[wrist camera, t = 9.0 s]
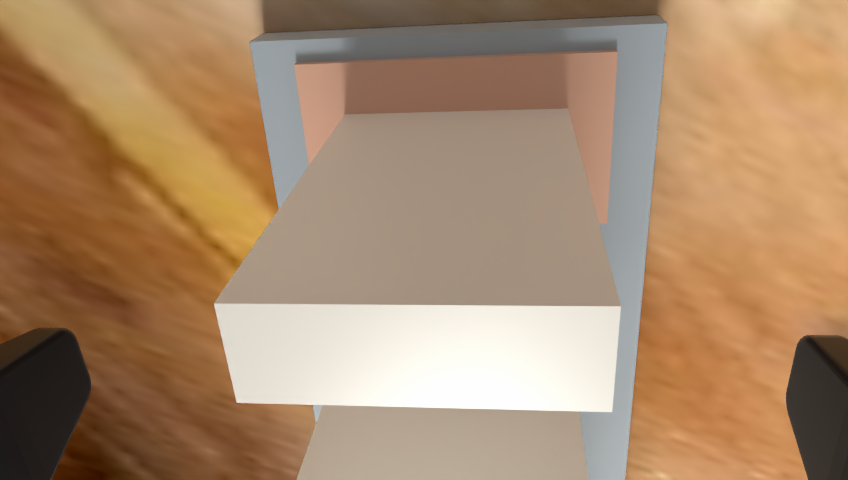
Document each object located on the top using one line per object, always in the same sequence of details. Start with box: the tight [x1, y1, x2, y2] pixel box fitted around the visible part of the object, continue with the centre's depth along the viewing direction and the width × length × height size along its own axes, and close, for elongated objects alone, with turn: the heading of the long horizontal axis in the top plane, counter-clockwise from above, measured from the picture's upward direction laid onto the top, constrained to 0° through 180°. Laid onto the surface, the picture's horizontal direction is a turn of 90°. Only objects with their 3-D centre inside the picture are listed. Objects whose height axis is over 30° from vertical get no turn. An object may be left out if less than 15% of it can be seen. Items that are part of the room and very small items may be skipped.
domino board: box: [250, 15, 668, 480], centre depth 21 cm, size 23×9×1 cm, turn 4°
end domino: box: [214, 108, 621, 412], centre depth 12 cm, size 2×5×8 cm, turn 94°
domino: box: [296, 405, 588, 480], centre depth 15 cm, size 2×5×8 cm, turn 93°
